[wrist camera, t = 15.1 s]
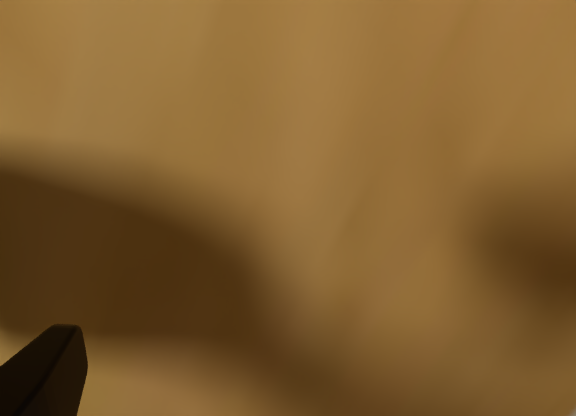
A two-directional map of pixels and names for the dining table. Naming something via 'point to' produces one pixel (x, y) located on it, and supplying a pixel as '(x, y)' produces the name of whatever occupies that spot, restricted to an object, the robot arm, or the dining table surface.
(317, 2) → the dining table surface
